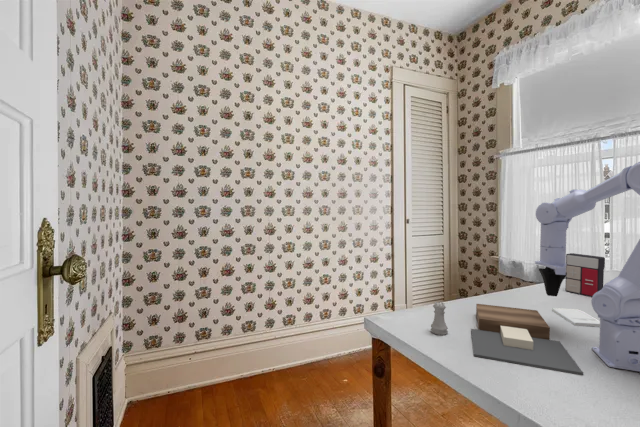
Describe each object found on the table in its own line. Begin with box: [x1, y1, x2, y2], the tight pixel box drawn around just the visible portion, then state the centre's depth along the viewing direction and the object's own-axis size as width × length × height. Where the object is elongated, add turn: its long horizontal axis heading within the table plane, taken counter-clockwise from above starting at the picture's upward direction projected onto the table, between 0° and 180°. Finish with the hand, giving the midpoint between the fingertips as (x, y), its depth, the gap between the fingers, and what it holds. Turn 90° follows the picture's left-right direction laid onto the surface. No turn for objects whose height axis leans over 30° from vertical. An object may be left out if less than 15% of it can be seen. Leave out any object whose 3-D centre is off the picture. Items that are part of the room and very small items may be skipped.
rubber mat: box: [470, 328, 584, 376], centre depth 75 cm, size 16×20×1 cm
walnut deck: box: [475, 303, 551, 340], centre depth 89 cm, size 14×16×4 cm
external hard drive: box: [551, 307, 600, 328], centre depth 95 cm, size 2×8×12 cm
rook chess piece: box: [430, 301, 449, 336], centre depth 85 cm, size 4×4×8 cm
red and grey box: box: [564, 252, 606, 298], centre depth 121 cm, size 11×4×15 cm, turn 25°
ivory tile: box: [500, 326, 533, 350], centre depth 79 cm, size 8×6×2 cm
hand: (551, 295), depth 87 cm, fingers closed
